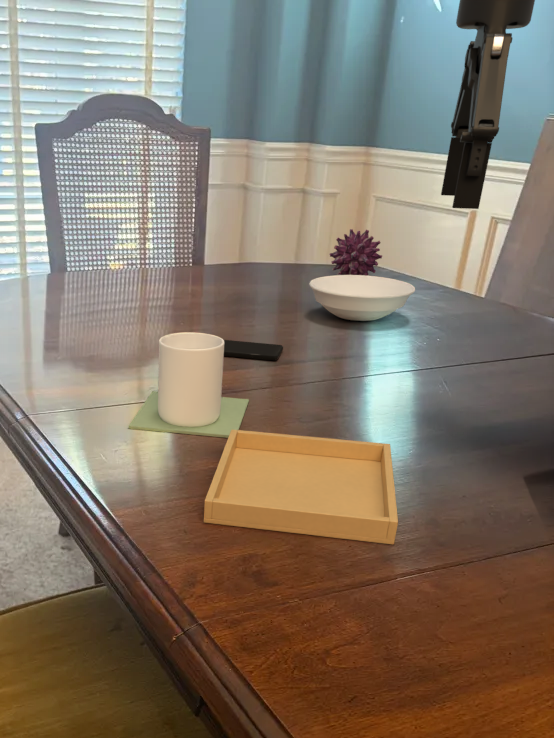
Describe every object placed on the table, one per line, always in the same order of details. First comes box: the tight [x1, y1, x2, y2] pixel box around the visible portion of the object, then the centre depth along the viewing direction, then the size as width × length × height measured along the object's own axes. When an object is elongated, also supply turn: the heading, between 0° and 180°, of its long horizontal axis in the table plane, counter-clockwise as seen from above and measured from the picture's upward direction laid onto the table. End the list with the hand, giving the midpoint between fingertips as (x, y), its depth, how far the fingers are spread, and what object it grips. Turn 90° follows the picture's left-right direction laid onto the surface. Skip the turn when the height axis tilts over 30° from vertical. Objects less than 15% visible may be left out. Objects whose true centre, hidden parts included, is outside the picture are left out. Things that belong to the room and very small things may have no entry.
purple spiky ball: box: [329, 228, 383, 276], centre depth 179 cm, size 12×12×12 cm
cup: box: [157, 331, 225, 427], centre depth 101 cm, size 8×12×10 cm
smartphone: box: [223, 339, 284, 361], centre depth 130 cm, size 7×1×15 cm
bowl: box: [308, 274, 416, 322], centre depth 149 cm, size 20×20×6 cm
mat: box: [128, 390, 250, 439], centre depth 104 cm, size 14×14×1 cm
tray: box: [203, 429, 399, 545], centre depth 84 cm, size 19×20×2 cm
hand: (458, 201), depth 92 cm, fingers open, 13 cm apart
